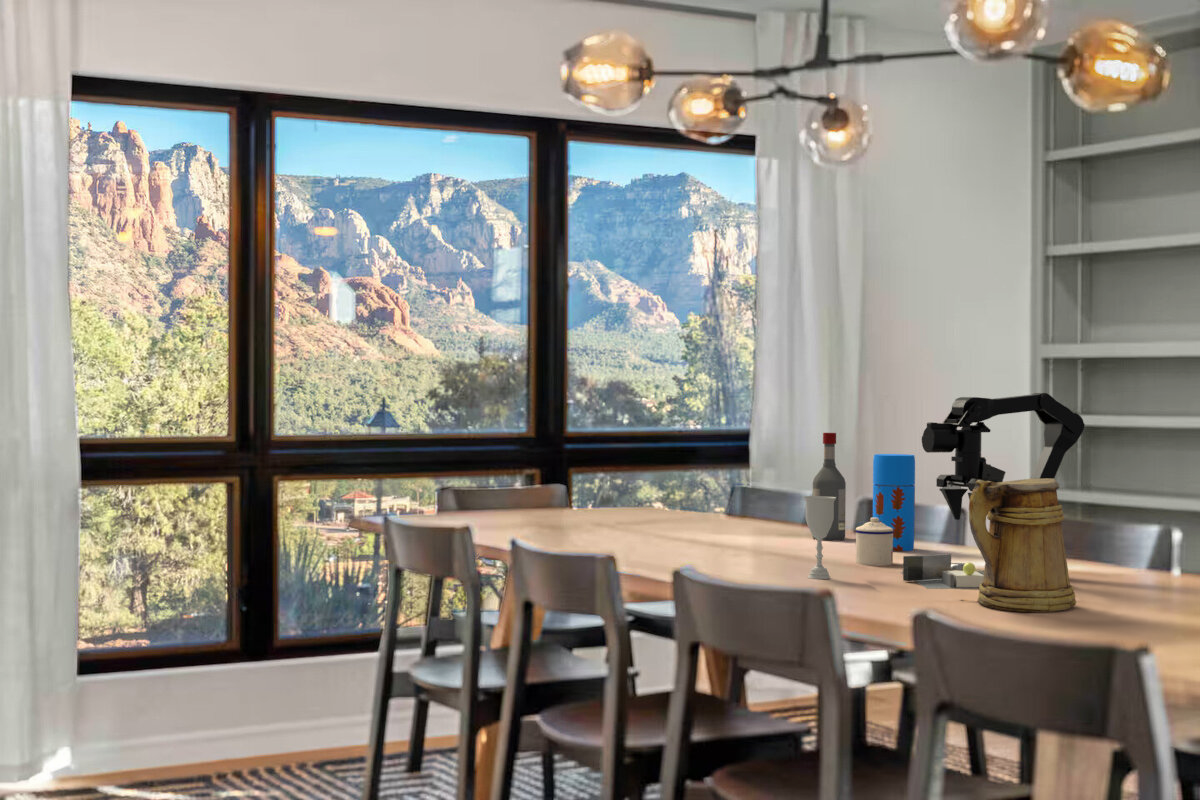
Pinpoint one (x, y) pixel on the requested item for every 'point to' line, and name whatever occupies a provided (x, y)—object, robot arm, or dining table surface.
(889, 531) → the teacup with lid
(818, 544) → the chalice
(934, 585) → the level stand
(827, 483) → the liquor
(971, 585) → the cam foot
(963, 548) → the dining table surface
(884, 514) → the thermos
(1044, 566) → the tankard
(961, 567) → the cam capstan
